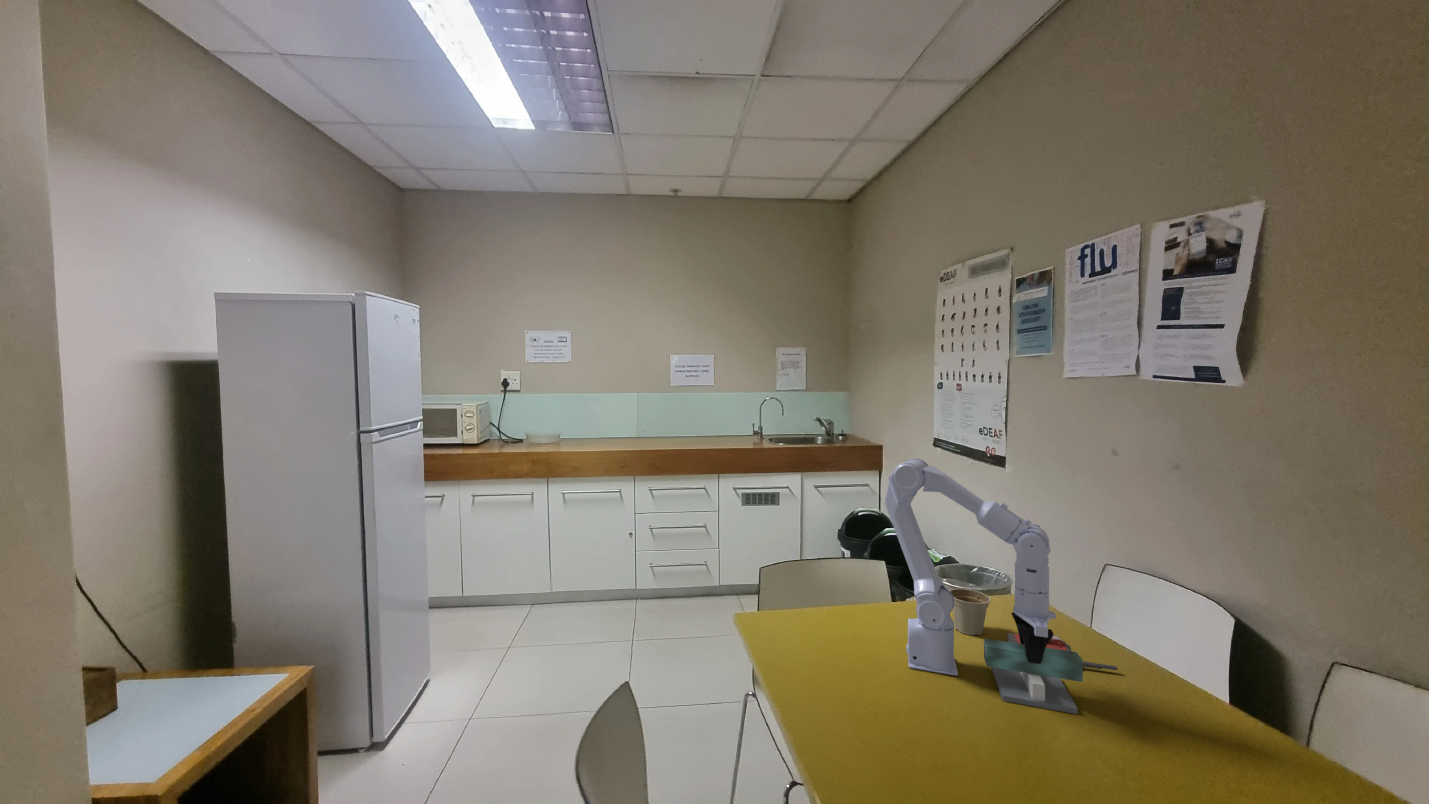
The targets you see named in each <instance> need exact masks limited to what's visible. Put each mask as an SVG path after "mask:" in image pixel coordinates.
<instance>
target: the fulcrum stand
mask: <svg viewBox="0 0 1429 804" xmlns="http://www.w3.org/2000/svg"><path fill="white" fill-rule="evenodd" d="M990 669H991V672H992V675H993V678H994V680H995V683H996V686H997V689H998V692H999V694H1000V696H1001V699H1002V702H1009V703H1013V704H1019V705H1024V706H1030V707H1035V708H1041V709H1045V710H1052V711H1057V712H1062V713H1069V714H1074V715H1078V713H1079V711H1078V710H1079V709H1078V706H1077V705H1076V704H1075V702H1074V700H1073V698H1072V697H1071V695H1070V693H1069V691H1068V689H1067V688H1066V686H1065V684H1064V683H1063V681H1062V679H1061V678H1055V677H1048V676H1042V675H1036V674H1030V673H1024V672H1018V671H1012V670H1005V669H999V668H993V667H990Z"/></svg>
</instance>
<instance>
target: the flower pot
mask: <svg viewBox="0 0 1429 804" xmlns="http://www.w3.org/2000/svg"><path fill="white" fill-rule="evenodd" d="M949 591H950V592H951V594H952V595H953V597H954V601H955V604H954V608H953V609H952V616H953V622H954V630H957V631H958V632H959V633H961V634H965V635H968V636H975V635H978V636H981V635H982V634H983V632H984V628H985V627H984V626H985V620H986V615H987V610H988V609H987V608H989V604H990V603H991V600H992V599H991V597H990V596H989V595H988V594H986V593H984V592H980V591H978V590H974V589H969V588H968V589H967V588H953V589H950V590H949Z"/></svg>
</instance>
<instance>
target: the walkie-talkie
mask: <svg viewBox="0 0 1429 804" xmlns="http://www.w3.org/2000/svg"><path fill="white" fill-rule="evenodd" d="M1006 634H1007V641H1006V642H1011V643H1018V644H1021V643H1020V637H1019V633H1009V632H1007V633H1006ZM1046 648H1052V649H1059V650H1066V651H1072V647H1071V646H1070V645H1069V644H1067V642H1065V640H1062V639H1061V638H1060V636H1058V635H1054V634H1053V637H1052V638H1051V639H1050V641H1049V642H1048V644H1047V646H1046ZM1082 661H1083V668H1088V669H1089V668H1090V669H1095V670H1096V669H1097V670H1103V669H1105V670H1113V671H1118V670H1119V669H1118V667H1117V666H1115V665H1110V664H1105V663H1096V662H1092V661H1091V662H1089V661H1084V660H1082Z"/></svg>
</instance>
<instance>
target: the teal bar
mask: <svg viewBox="0 0 1429 804" xmlns="http://www.w3.org/2000/svg"><path fill="white" fill-rule="evenodd" d="M983 659H984V662H985V665H986V667H988V668H991V667H993V668H999V669H1005V670H1012V671H1018V672H1024V673H1030V674H1036V675H1042V676H1048V677H1055V678H1060V680H1066V681H1067V680H1068V681H1074V682H1080V683H1083V682H1084V680H1083V679H1084V678H1083V672H1084V670H1083V669H1084V667H1083V661H1084V660H1083V659H1082V658H1081V657H1080V655H1079V654H1078V652H1077V651H1073V650H1071V651H1066V650H1059V649H1052V648H1045V651H1044V655H1043V658H1042V662H1041V664H1036V663H1030V662H1028V660H1027V657H1026V652H1025V645H1024V644H1018V643H1011V642H1007V641H1003V640H997V639H996V640H995V639H988V638H983Z"/></svg>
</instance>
